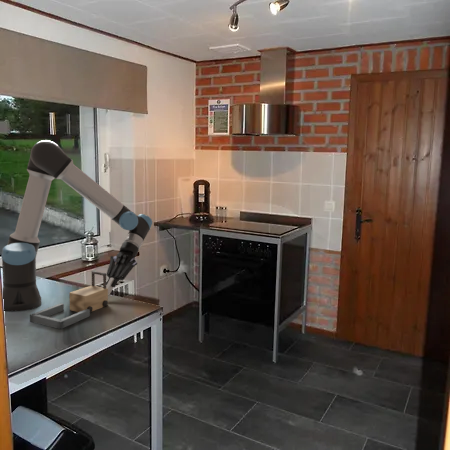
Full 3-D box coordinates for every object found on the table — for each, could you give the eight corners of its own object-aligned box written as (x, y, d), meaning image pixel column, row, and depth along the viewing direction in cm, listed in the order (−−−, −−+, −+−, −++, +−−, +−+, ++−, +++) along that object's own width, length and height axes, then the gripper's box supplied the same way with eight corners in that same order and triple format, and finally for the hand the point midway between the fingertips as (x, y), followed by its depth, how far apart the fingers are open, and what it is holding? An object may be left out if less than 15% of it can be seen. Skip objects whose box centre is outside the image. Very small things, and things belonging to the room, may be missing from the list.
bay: (30, 321, 159) (29, 314, 159) (60, 309, 172) (60, 303, 172) (60, 329, 154) (60, 322, 153) (89, 316, 167) (89, 309, 166)
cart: (68, 310, 173) (68, 276, 171) (91, 301, 183) (91, 270, 182) (86, 314, 169) (86, 280, 167) (108, 305, 179) (108, 273, 177)
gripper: (147, 252, 198) (123, 300, 185) (122, 249, 203) (97, 295, 190) (140, 242, 192) (115, 290, 180) (115, 239, 197) (89, 285, 185)
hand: (106, 293), depth 185 cm, fingers closed
